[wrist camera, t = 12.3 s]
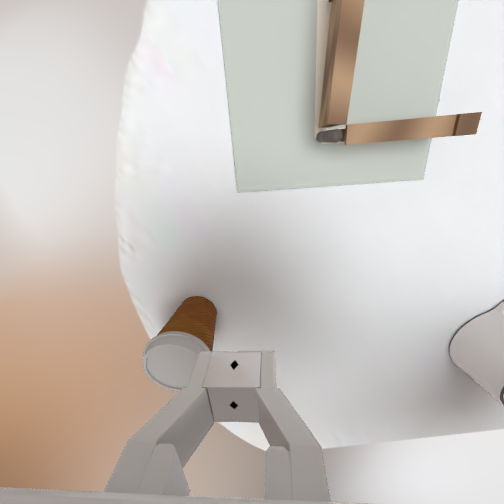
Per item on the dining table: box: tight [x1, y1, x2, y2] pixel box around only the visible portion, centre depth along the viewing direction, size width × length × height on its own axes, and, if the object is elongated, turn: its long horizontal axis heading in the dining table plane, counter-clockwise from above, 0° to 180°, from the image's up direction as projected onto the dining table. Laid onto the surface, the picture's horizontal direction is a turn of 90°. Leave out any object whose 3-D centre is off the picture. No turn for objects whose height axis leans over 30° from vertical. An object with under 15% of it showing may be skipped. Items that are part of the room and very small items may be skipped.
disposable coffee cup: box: [143, 296, 217, 391], centre depth 37 cm, size 10×10×12 cm
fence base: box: [316, 112, 482, 145], centre depth 26 cm, size 14×2×7 cm, turn 95°
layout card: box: [218, 0, 458, 192], centre depth 29 cm, size 24×20×1 cm
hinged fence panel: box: [319, 0, 365, 128], centre depth 23 cm, size 13×2×6 cm, turn 0°
